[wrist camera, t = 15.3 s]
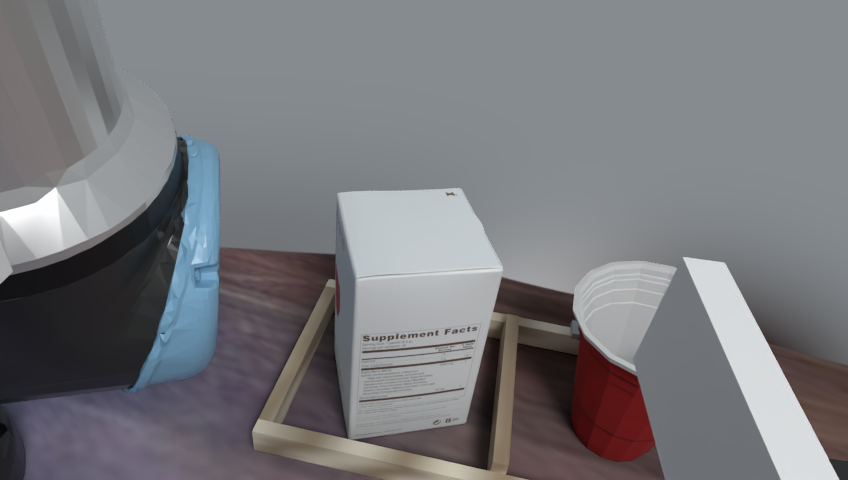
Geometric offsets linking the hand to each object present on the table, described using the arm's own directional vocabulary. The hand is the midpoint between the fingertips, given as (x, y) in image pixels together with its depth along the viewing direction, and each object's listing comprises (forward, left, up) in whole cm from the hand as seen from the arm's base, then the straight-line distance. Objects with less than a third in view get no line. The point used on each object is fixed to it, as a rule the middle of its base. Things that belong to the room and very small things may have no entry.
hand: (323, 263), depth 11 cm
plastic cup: (+15, +21, -28) cm, 38 cm away
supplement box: (-1, +21, -28) cm, 35 cm away
